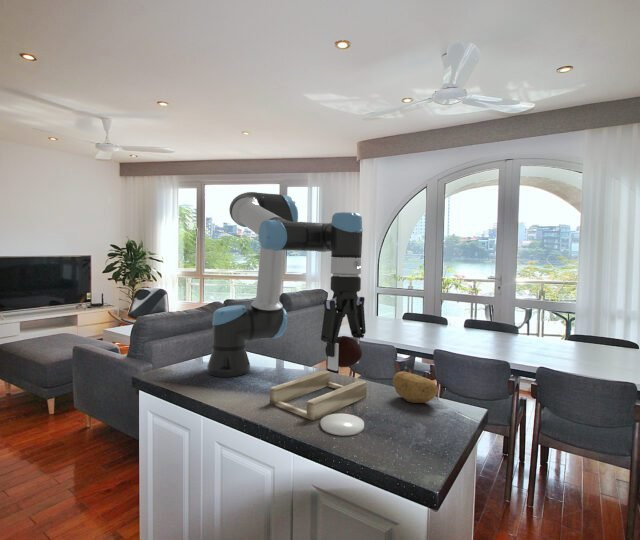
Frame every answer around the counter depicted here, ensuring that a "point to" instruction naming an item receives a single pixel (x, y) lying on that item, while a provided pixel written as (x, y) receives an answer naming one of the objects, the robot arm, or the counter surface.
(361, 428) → the plate
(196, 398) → the counter surface
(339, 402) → the cradle
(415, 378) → the potato
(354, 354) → the dark brown rounded piece
